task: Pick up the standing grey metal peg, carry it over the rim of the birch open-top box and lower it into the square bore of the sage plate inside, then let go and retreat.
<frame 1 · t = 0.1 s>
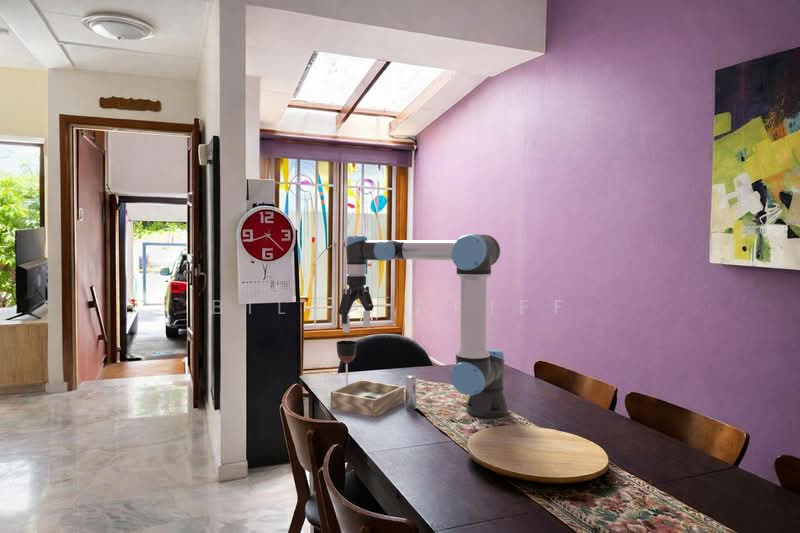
hand: (356, 329, 206), 28 cm above the table, fingers open, 13 cm apart
peg: (410, 408, 197), on the table
box: (367, 404, 201), on the table
wineglass: (346, 390, 221), on the table
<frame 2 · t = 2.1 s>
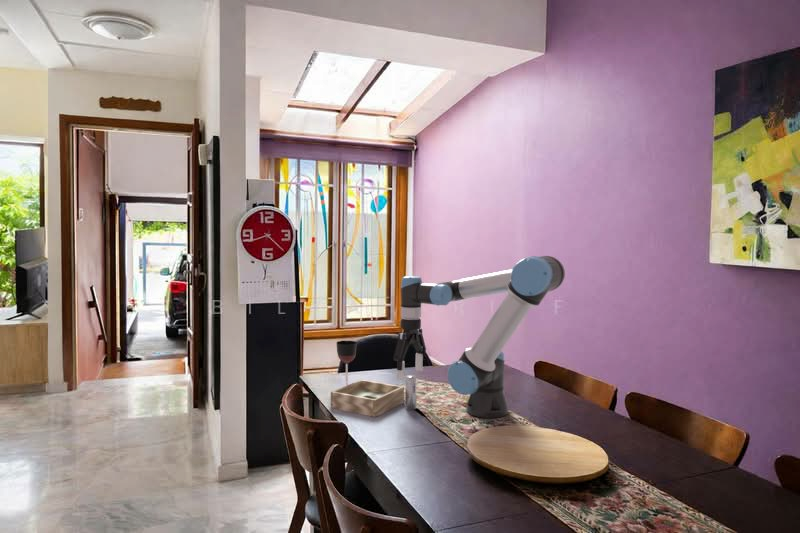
hand: (410, 374, 197), 13 cm above the table, fingers open, 13 cm apart
nothing on the table moved.
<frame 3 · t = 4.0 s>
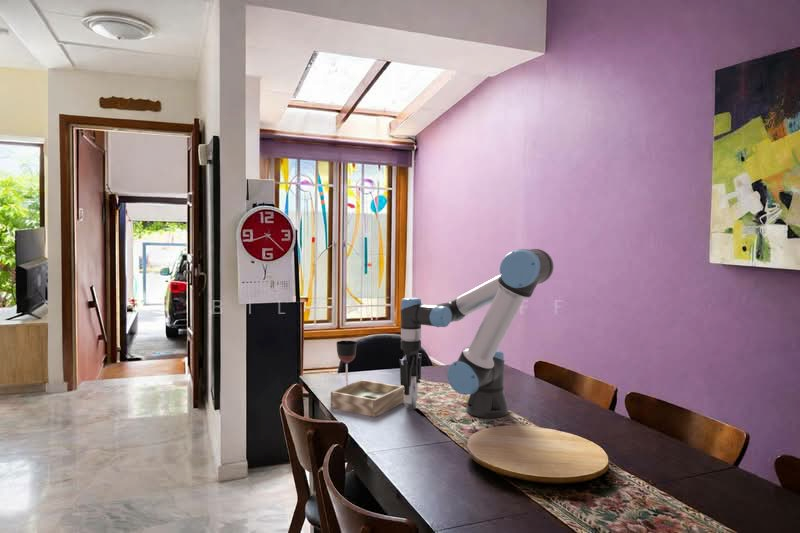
hand: (410, 401, 197), 3 cm above the table, fingers closed on peg, 4 cm apart
peg: (410, 408, 197), on the table, touching gripper
everything else where it was.
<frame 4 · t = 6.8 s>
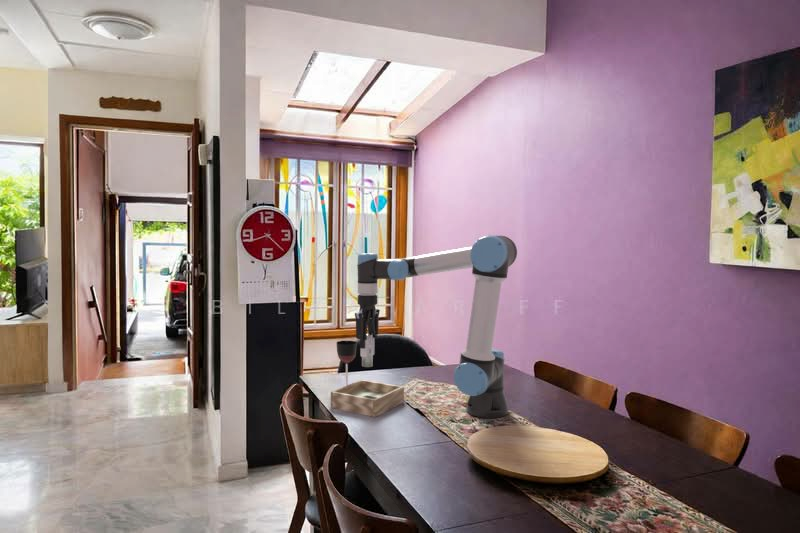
hand: (367, 355, 200), 19 cm above the table, fingers closed on peg, 4 cm apart
peg: (367, 365, 200), point 15 cm above the table, touching gripper
everything else where it was.
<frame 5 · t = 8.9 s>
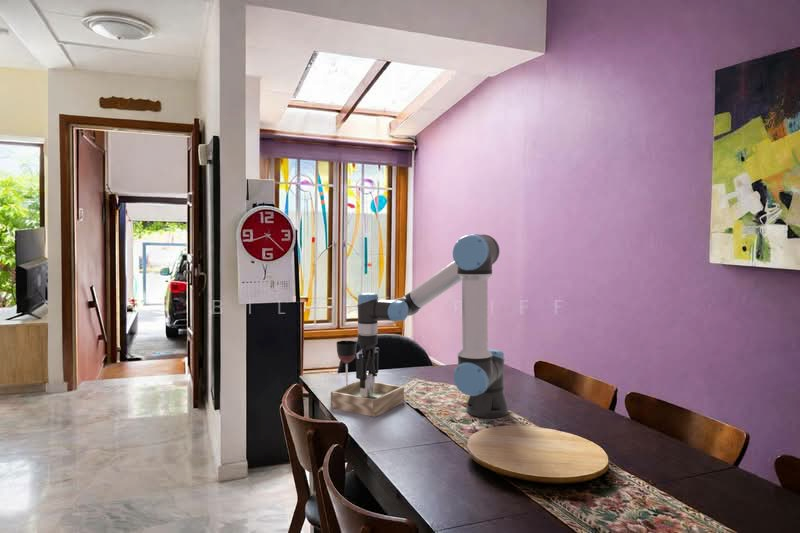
hand: (367, 394, 201), 4 cm above the table, fingers closed on peg, 4 cm apart
peg: (367, 404, 201), resting in box, touching gripper
everything else where it was.
when the fingers open (4 cm above the table, at t = 9.7 s): peg stays where it is, resting in box.
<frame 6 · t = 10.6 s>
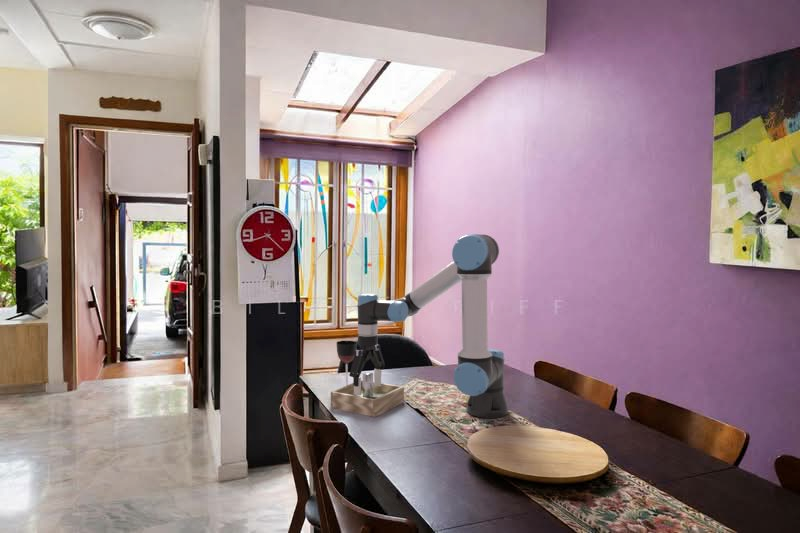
hand: (367, 390, 201), 6 cm above the table, fingers open, 13 cm apart
peg: (367, 404, 201), resting in box
everything else where it was.
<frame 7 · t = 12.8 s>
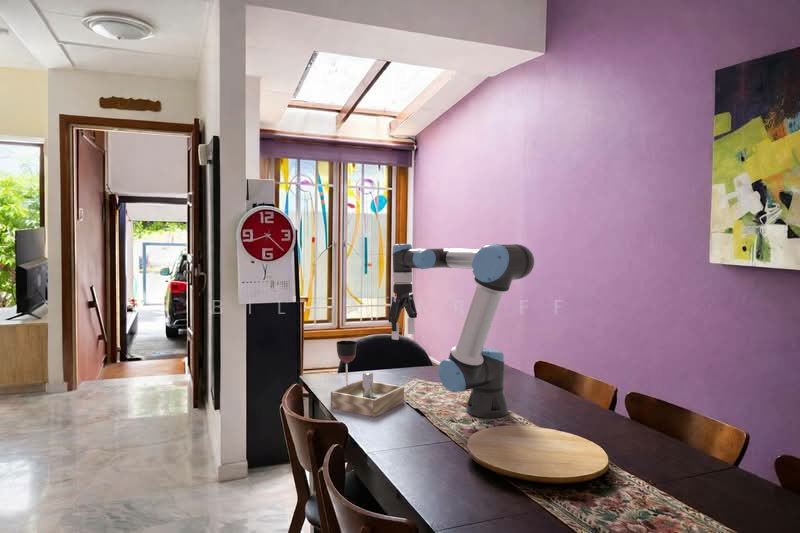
hand: (403, 336, 208), 25 cm above the table, fingers open, 13 cm apart
nothing on the table moved.
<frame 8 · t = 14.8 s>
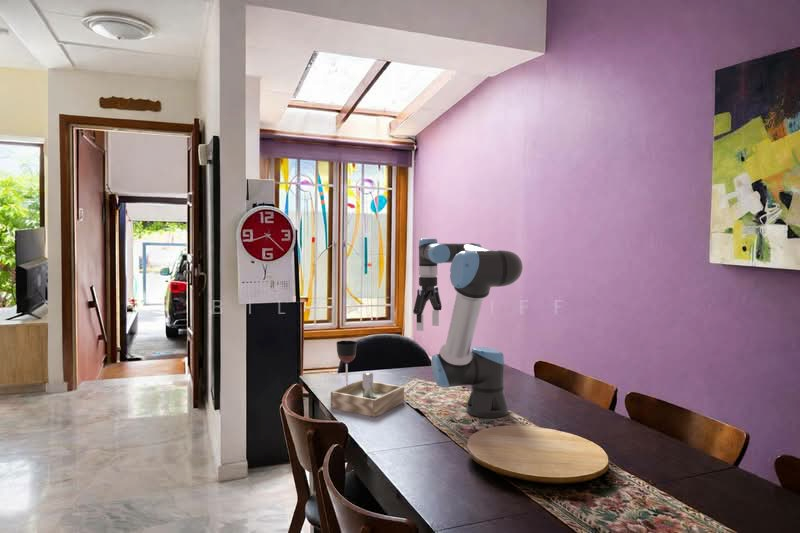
hand: (427, 328, 216), 27 cm above the table, fingers open, 13 cm apart
nothing on the table moved.
at the end: peg 0.0 cm off-centre on the box, point 0.0 cm above the box's base; peg tilted 0°; the gripper is holding nothing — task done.
